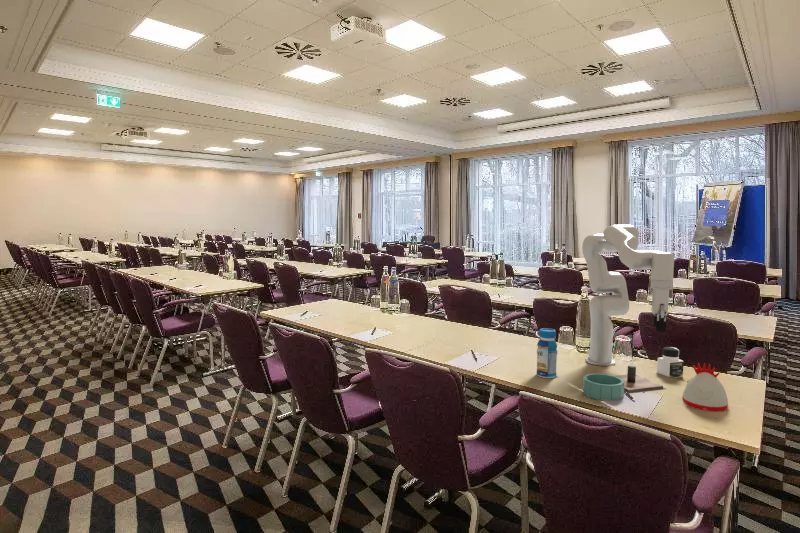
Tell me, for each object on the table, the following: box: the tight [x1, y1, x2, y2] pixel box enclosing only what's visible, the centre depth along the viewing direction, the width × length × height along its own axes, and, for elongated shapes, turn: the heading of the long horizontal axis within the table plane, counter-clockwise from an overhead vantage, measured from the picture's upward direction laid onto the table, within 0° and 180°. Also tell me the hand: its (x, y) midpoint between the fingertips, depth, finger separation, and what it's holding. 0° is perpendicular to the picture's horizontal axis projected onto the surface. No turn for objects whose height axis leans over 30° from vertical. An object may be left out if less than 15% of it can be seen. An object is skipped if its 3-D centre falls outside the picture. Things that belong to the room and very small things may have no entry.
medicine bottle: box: [656, 346, 684, 379], centre depth 208 cm, size 7×7×12 cm
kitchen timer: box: [682, 362, 729, 412], centre depth 176 cm, size 14×14×15 cm
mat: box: [625, 387, 667, 394], centre depth 196 cm, size 18×18×1 cm
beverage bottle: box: [536, 327, 558, 379], centre depth 208 cm, size 8×8×20 cm
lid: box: [615, 365, 664, 392], centre depth 196 cm, size 16×16×7 cm
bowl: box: [582, 372, 625, 402], centre depth 185 cm, size 14×14×6 cm
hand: (659, 328), depth 187 cm, fingers open, 9 cm apart
